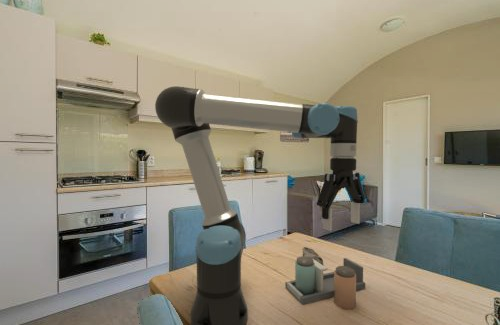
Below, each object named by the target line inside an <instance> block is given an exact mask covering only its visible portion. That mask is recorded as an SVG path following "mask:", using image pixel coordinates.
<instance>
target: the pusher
mask: <svg viewBox="0 0 500 325" xmlns="http://www.w3.org/2000/svg"><path fill="white" fill-rule="evenodd" d="M313 260H314V259H313ZM314 263H315V290H317V291H318V292H322V291H323V274H324V272H326V271H328V268H327V267H326V266H325V265H324V264H323V265H322V264H320V263H318V262H317V261H315V260H314Z"/></svg>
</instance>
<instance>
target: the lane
mask: <svg viewBox="0 0 500 325" xmlns="http://www.w3.org/2000/svg"><path fill="white" fill-rule="evenodd" d="M342 264H343V265H342V266H347V267H350V268H352V269H354V271H355V274H356V292H357V291H360V290H364V289H366V282H365V281H364V266H362V265H361V264H359V263H356V262H355V261H352V260H351V259H349V258H347V257H344V258H343V263H342ZM284 284H285V289H286V290H287V291H288V292H289V293H290V294H291V295H292V296H293V297H294V298H295V299H296V300H297V301H298V302H299V303H300V304H301V305H305V304H306V305H307V304H309V303H310V304H311V303H314V302H317V301H322V300H326V299H329V298H334V271H331V272H327V273H323V291H322V292H318V291H317V290H315V293H314V294H310V295H306V296H303V294H302V293H301V292H299V291H298V290H297V289H296V288H295V279H294V280H290V281H285V283H284Z"/></svg>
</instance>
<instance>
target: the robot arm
mask: <svg viewBox="0 0 500 325" xmlns="http://www.w3.org/2000/svg"><path fill="white" fill-rule="evenodd" d="M156 97H157V98H156V100H155V104H154V107H155V108H154V109H155V113H156V116H157V118H158V119H159V121H160V122H161V123H162V124H164V126H166V127H169V128H171V132H172V134H173V138H174V140H175V141H174V142H176V143H178V144H180V145H181V146H182V149H183V152H184V155H185V159H186V161H187V166H188V168H189V172H190V174H191V177H192V181H193V184H194V188H195V191H196V194H197V196H198V200H199V204H200V207H201V210H202V213H203V215H204V218H203V221H202V223H201V226H202V228H203V229H202V231H201V232H200V233H199V234H198V235H197V238H196V244H195V252H196V253H195V254H196V294H195V298H194V300H193V304H192V307H191V311H190V325H246V324H247V321H248V318H249V317H248V315H249V314H248V311H249V310H248V305H247V302H246V299H245V296H244V293H243V290H242V265H241V264H242V256H243V251H244V247H245V245H246V240H247V239H246V237H247V236H246V235H247V233H246V230H245V227H244V225H243V223H241V220H240V219H239V215H238V212H237V211H236V210H235V209H233V208H232V207H231V206H230V202H229V199H228V196H227V192H226V188H225V186H224V183H223V180H222V177H221V174H220V170H219V168H218V164H217V160H216V157H215V154H214V151H213V149H212V148H213V147H212V145H211V142H210V137H209V136H210V135H211V132H212V129H211V126H210V124H211V125H218V126H219V125H221V126H228V127H229V126H230V127H239V128H249V129H256V130H257V129H259V130H267V131H276V132H289V133H291V136H292V137H293V138H295V139H303V140H304V139H330V148H329V149H330V150H329V156H330V157H331V158H330V159H329V167H330V168H329V169H330V171H332V173H325V174H324V180H323V184H322V187H321V189H320V192H319V195H318V199H317V201H316V206H319V207H320V208H321V209H322V210H321V218H322V229H323V230H327V231H330V232H331V231H332V229H333V228H332V227H333V208H332V207H331V206H332V204H333V202H334V201H335V199H336V197H337V195H338V193H339V191H341V190H342V189H346V191H347V193H348V194H349V196H350V198H351V203H350V222H351V223H353V224H356V225H357V224H358V225H360V222H361V221H360V218H361V217H360V216H361V204H364V203H365V200H366V196H365V193H364V190H363V187H362V183H361V178H360V177H361V175H360V172H354V171H356V170H357V159H356V158H355V157H356V156H357V148H358V147H357V142H358V141H357V140H358V139H357V138H358V134H357V133H358V123H359V122H358V109H357V108H356V106H353V105H337V106H334V105H333V104H332V103H328V102H319V103H316V104H308V103H297V102H289V101H288V102H287V101H278V100H268V99H259V98H248V97H241V96H240V97H238V96H228V95H222V94H211V93H206V91H204V90H203V89H202V88H193V87H187V86H185V87H184V86H178V85H177V86H170V87H166V88H164V89H163V90H162V91H161V92H160V93H159V95H157V96H156Z"/></svg>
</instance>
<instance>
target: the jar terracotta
mask: <svg viewBox="0 0 500 325" xmlns="http://www.w3.org/2000/svg"><path fill="white" fill-rule="evenodd" d="M333 272H334V297H333V303H334V305H335V306H336V307H338V308H340V309H343V310H346V311H348V310H350V311H351V310H354V309H356V306H357V291H356V274H355V271H354V269H352V268H350V267H347V266H343V265H339V266H336V267H335V270H334V271H333Z"/></svg>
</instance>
